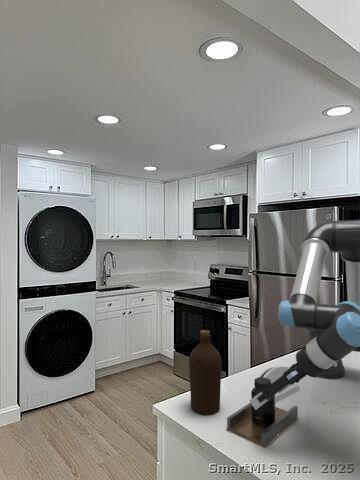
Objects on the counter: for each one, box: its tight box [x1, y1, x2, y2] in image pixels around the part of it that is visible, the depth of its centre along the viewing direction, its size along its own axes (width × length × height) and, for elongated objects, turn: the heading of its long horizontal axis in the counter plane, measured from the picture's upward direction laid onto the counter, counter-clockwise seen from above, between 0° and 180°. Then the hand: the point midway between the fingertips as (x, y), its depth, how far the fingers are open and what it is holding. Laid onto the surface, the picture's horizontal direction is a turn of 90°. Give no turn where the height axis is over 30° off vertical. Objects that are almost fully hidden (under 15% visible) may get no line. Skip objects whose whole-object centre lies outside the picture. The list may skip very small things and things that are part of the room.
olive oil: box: [188, 329, 223, 416], centre depth 109 cm, size 11×11×25 cm
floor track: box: [226, 401, 299, 448], centre depth 99 cm, size 20×12×4 cm, turn 136°
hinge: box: [258, 365, 301, 404], centre depth 119 cm, size 17×5×10 cm, turn 129°
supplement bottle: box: [250, 376, 276, 426], centre depth 99 cm, size 7×7×12 cm
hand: (265, 396), depth 98 cm, fingers open, 13 cm apart
